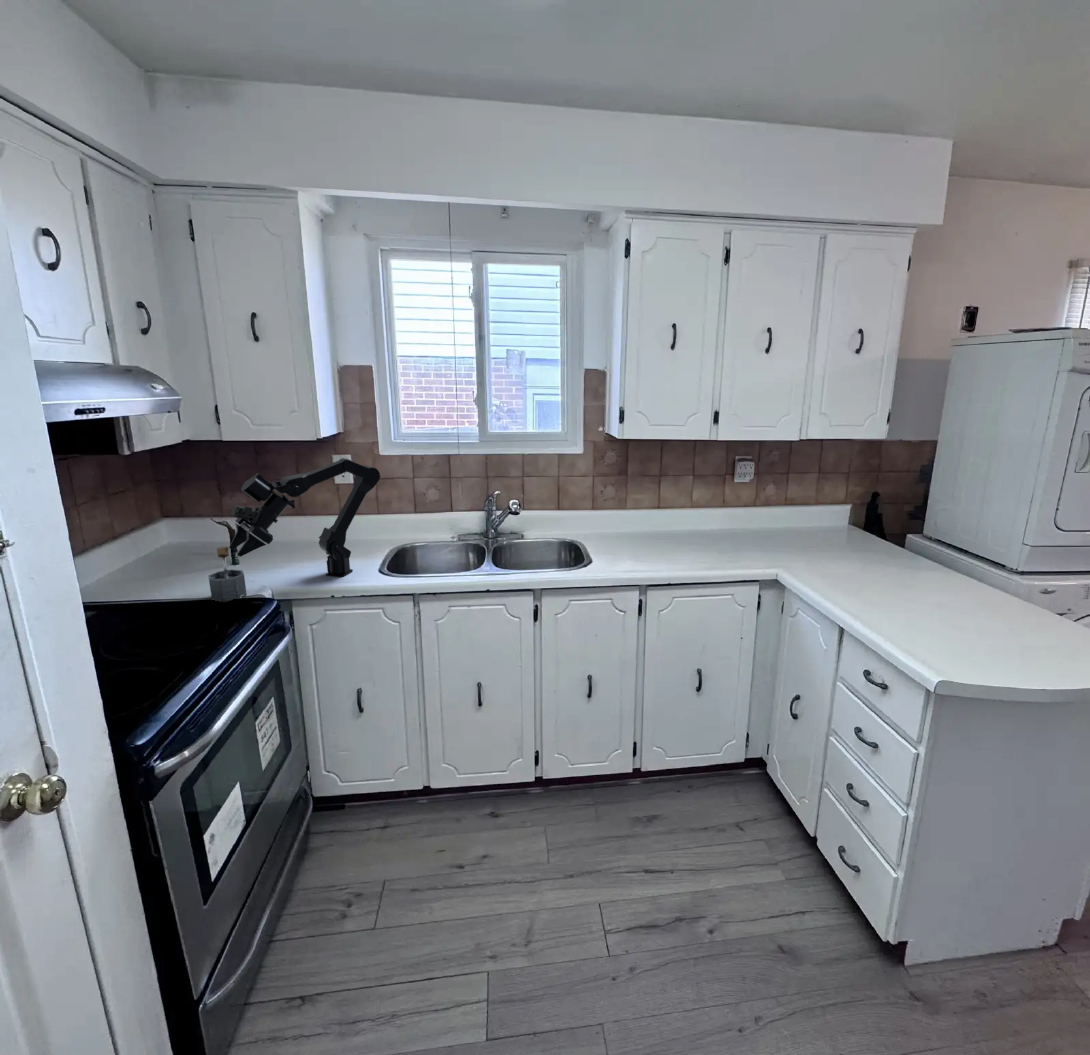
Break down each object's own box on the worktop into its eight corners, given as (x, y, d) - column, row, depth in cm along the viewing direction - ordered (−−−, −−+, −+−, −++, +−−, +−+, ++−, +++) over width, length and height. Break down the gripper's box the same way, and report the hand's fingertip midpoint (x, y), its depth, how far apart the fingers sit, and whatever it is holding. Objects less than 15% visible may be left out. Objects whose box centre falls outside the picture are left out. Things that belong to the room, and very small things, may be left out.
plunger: (244, 578, 168) (240, 545, 165) (228, 586, 162) (223, 552, 159) (225, 576, 169) (221, 544, 167) (209, 584, 163) (203, 550, 160)
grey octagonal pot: (253, 592, 170) (250, 571, 168) (231, 603, 161) (228, 581, 160) (227, 590, 172) (224, 568, 170) (204, 601, 163) (200, 578, 161)
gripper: (239, 490, 171) (203, 530, 167) (256, 499, 158) (217, 543, 153) (269, 511, 178) (235, 550, 174) (288, 522, 165) (252, 565, 160)
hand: (234, 552), depth 165 cm, fingers open, 9 cm apart
